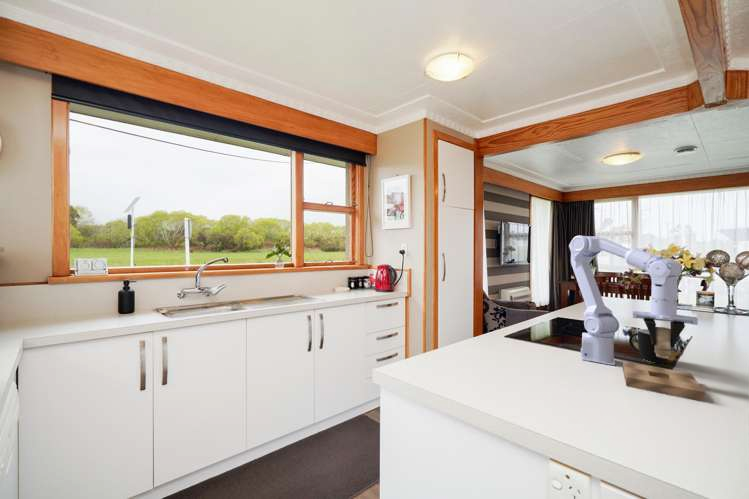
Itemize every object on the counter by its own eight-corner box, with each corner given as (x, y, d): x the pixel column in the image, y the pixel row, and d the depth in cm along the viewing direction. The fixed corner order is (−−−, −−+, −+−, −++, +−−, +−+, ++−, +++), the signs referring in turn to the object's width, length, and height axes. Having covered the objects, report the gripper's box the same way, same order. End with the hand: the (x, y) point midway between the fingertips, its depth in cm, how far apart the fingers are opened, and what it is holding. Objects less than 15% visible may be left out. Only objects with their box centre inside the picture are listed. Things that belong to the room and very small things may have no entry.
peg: (654, 357, 98) (655, 328, 98) (653, 354, 101) (654, 326, 101) (671, 359, 95) (672, 330, 95) (669, 356, 98) (670, 328, 98)
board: (626, 385, 93) (626, 377, 93) (623, 369, 107) (623, 361, 107) (704, 401, 84) (705, 392, 84) (690, 381, 98) (690, 373, 98)
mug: (675, 363, 114) (676, 334, 114) (662, 367, 110) (663, 336, 110) (635, 353, 124) (636, 326, 124) (622, 356, 120) (623, 328, 120)
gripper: (634, 298, 98) (633, 344, 99) (701, 304, 90) (700, 353, 91) (631, 296, 104) (630, 338, 104) (694, 300, 96) (693, 347, 96)
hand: (662, 345), depth 98 cm, fingers closed on peg, 4 cm apart
